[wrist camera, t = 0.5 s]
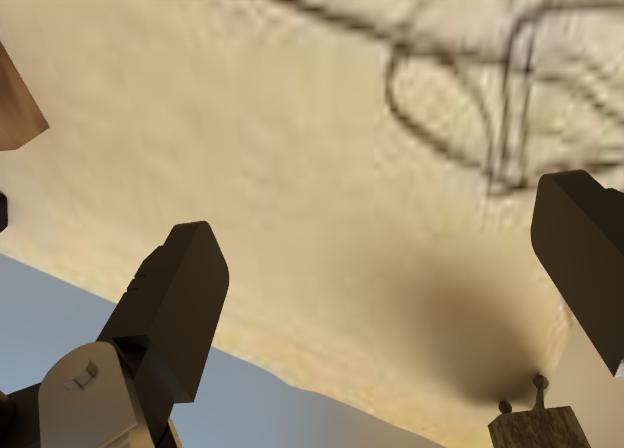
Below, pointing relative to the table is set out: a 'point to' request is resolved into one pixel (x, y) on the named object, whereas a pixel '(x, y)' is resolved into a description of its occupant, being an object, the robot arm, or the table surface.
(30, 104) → the base brick
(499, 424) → the grey brown tall figure
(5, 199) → the battery
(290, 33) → the table surface
